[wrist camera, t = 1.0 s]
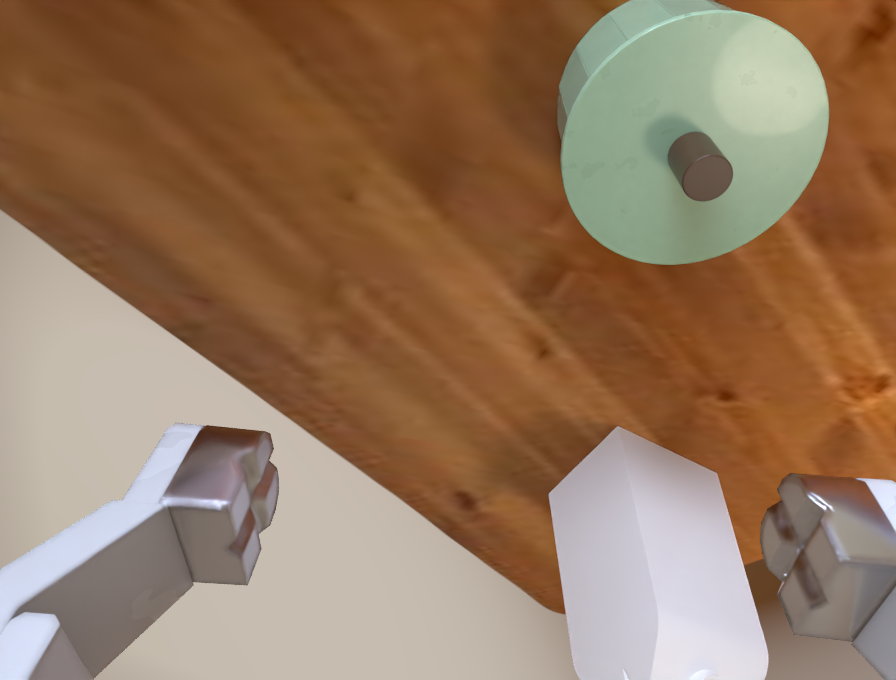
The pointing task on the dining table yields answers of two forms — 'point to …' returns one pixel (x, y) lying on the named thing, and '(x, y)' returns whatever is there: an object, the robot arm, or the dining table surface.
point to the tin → (616, 42)
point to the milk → (652, 569)
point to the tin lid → (694, 137)
